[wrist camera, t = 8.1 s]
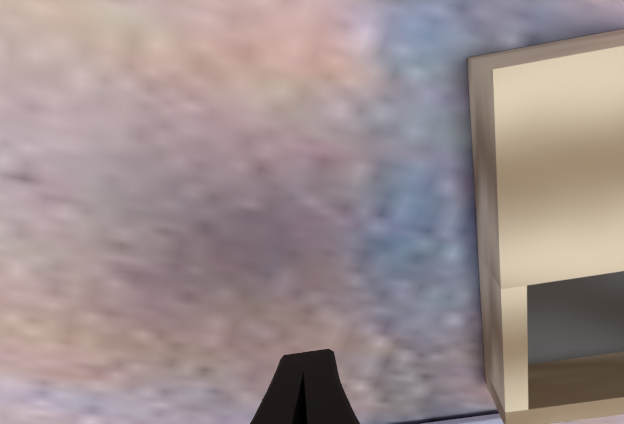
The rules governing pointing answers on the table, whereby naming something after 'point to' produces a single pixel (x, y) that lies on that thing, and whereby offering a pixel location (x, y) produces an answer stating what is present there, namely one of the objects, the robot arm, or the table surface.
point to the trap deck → (551, 226)
